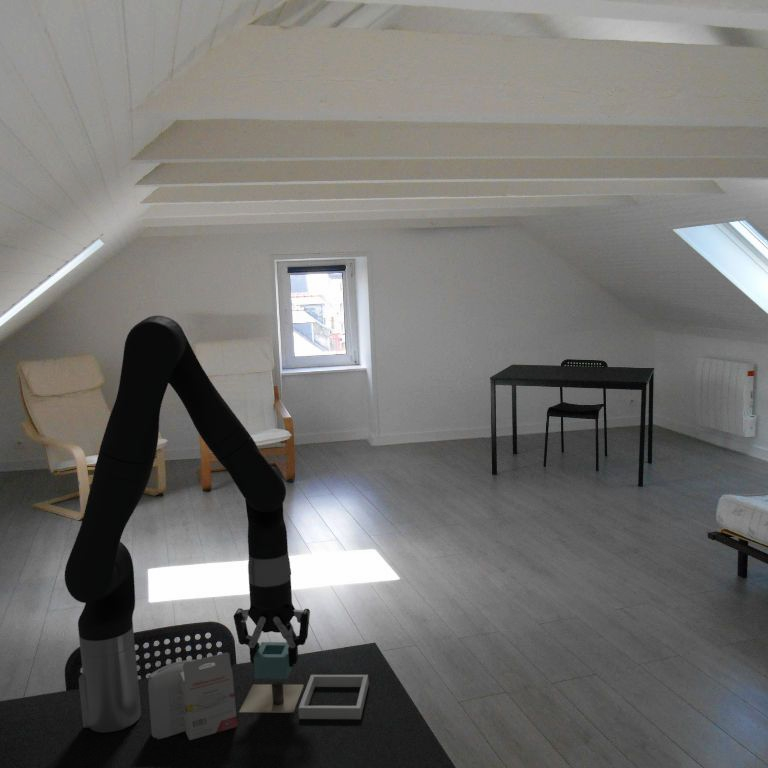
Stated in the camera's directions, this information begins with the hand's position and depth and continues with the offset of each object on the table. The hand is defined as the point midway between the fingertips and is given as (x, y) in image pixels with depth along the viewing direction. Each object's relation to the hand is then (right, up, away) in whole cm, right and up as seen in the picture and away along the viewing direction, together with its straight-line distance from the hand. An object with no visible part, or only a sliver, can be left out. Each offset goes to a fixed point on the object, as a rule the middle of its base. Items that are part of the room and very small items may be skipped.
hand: (274, 664), depth 147 cm
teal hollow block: (0, -1, +1) cm, 2 cm away
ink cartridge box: (-10, -10, -6) cm, 16 cm away
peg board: (-1, -8, +2) cm, 8 cm away
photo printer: (-16, -10, -6) cm, 19 cm away
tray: (+11, -8, 0) cm, 14 cm away
